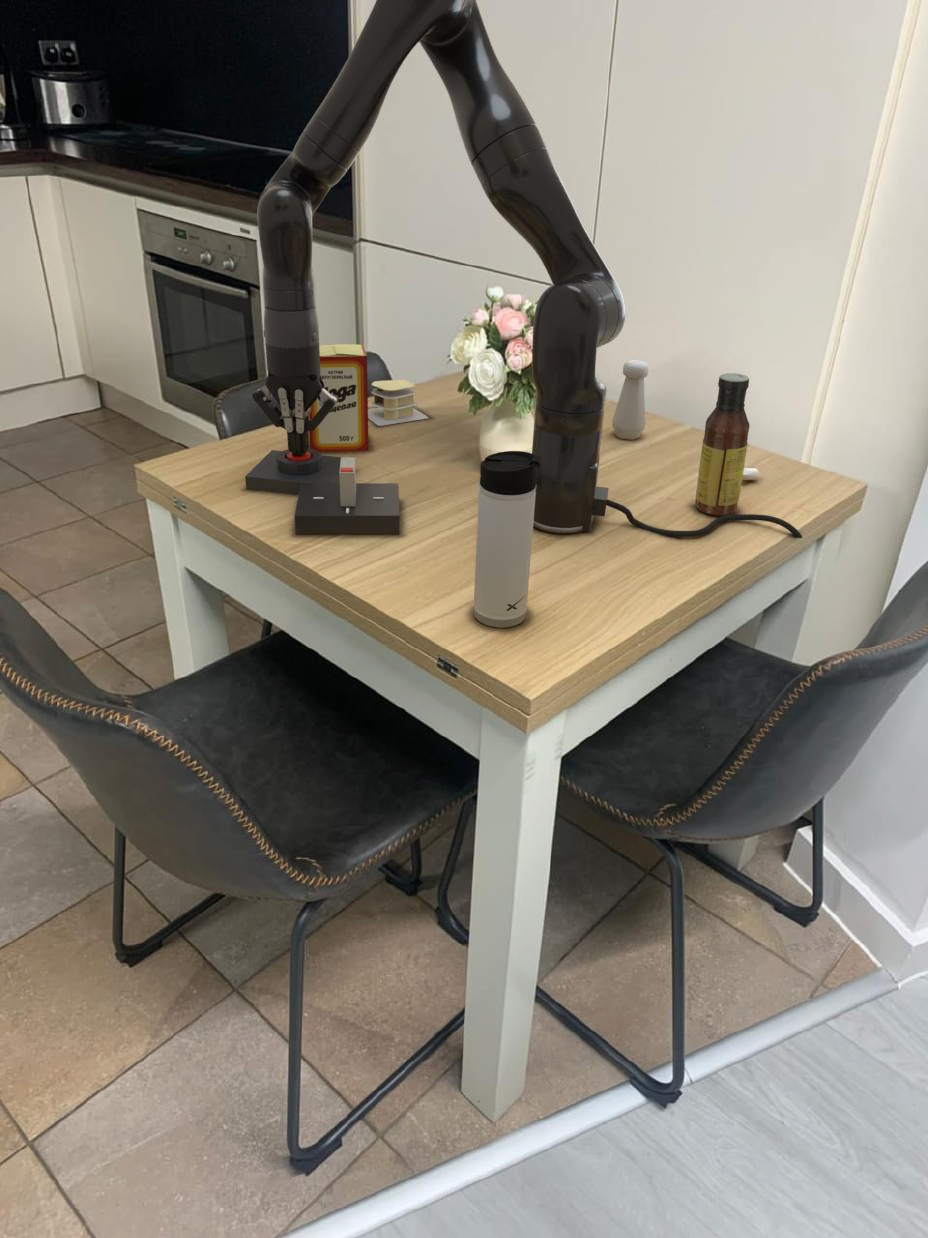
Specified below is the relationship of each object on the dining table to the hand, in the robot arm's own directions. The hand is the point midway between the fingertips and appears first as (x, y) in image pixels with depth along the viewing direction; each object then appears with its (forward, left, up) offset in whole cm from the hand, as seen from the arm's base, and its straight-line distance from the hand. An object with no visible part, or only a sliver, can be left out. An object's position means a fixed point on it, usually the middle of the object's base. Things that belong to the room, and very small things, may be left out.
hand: (298, 454), depth 142 cm
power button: (0, 0, -2) cm, 2 cm away
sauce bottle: (-62, -6, -4) cm, 63 cm away
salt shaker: (-48, -34, -4) cm, 59 cm away
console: (-11, +11, -4) cm, 16 cm away
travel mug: (-36, +32, -4) cm, 48 cm away
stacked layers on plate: (-6, -33, -4) cm, 34 cm away
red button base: (0, 0, -4) cm, 4 cm away
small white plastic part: (-67, -18, -4) cm, 69 cm away
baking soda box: (-1, -16, -4) cm, 16 cm away
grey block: (-11, +11, -1) cm, 16 cm away
